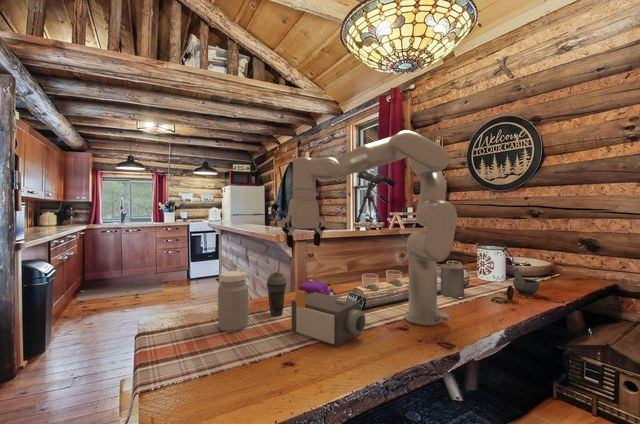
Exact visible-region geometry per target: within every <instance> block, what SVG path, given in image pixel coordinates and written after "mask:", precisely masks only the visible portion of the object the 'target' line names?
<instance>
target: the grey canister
mask: <svg viewBox="0 0 640 424" xmlns="http://www.w3.org/2000/svg"><path fill="white" fill-rule="evenodd" d="M464 274H465V266H463V265H462V264H457V263H456V264H455V263H453V262H452V263H442V264H441V265H440V296H441V295H443V296H445V297H444V298H446V297H452V298H459V297H463V296H464V297H465V276H464ZM443 296H442V297H443ZM464 297H463V298H464Z"/></svg>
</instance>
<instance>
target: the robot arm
mask: <svg viewBox="0 0 640 424" xmlns="http://www.w3.org/2000/svg"><path fill="white" fill-rule="evenodd" d="M405 158H408V159H410V160H409V165H410V168H411V170H412V172H413V173H414V175H416V176H417V177H418V181H419V183H420V193H419V196H418V202H417V207H416V213H415V220H416V222H417V223H418V224H419V225H420V226H422V227H424V228H426V230H415V231H414V232H412V233H411V234H410V235H408V237H407V241H406V252H407V259H408V260H407V261H408V311H406V312H405V313H404V314H403V316H404V319H405V321H407V322H408V323H412V324H413V325H418V326H426V327H427V326H429V327H430V326H431V327H432V326H437V325H440V324H441V323H442V320H443V321H447V322H449V321H450V320H451V317H450V315H449V313H447V312H442V311H441V310H440V307H439V306H438V267H437V263H439V262H442V261H445V260H446V259H447V258H448V257H449V256H450V254H451V251H452V247H453V243H454V239H455V232H456V229H457V223H458V213H457V210H456V207H455V206H454V205H453V204H452V203H451V202H449V201H447V200H445V199H446V194H447V193H446V192H447V183H446V182H447V181H446V179H445V176H444V175H443V173H442V171H443V170H445V168H447V166H448V164H449V162H450V156H449V153H448V151H447V150H446V148H445V147H443V146H442V145H440V144H439V143H437V142H435V141H433V140H431V139H429V138H427V137H424V136H423V135H422V134H420V133H417V132H415V131H412V130H409V129H408V130H406V129H404V130H401V131H399V132H398V133H395V134H394V135H392V136H389V137H386V138H382V139H379V140H376V141H371V142H369V143H366V144H362V145H360V146H358V147H356V148H354V149H352V150H351V151H349V152H347V153H344V154H342V155H339V156H336V157H331V156H323V157H308V156H303V157H302V156H299V157H296V158H295V159H294V160H293V163H292V177H293V178H292V198H291V199H290V200H289V205H288V211H287V212H288V213H287V216H286V217H285V218H283V219H280V220H279V221H278V224H279V227H280V229H281V230H282V231H283V233H285V235H286V245H287V247H288V248H290V249H291V248H294V235H293V234H294V231H295V230H312V231H313V232H314V234H313V245H314V246H316V247H320V245H321V235H322V233H323V232H324V231H325V230H326V226H327V225H328V220H326V219H324V218H322V217H321V216H320V209H319V208H320V207H319V203H318V199H316V198H317V197H319V196H320V195H319V194H320V193H319V192H318V191H317V189H316V184H317V183H316V180H317V181H319V182H322V183H327V182H331V181H333V180H336V179H337V180H338V179H340V178H344V177H346V176H350V175H352V174H356V173H361V172H364V171H368V170H371V169H374V168H377V167H381V166H384V165H387V164H390V163H394V162H397V161H399V160H403V159H405ZM286 223H287V227H286ZM320 223H321V224H320Z"/></svg>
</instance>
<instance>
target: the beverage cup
mask: <svg viewBox="0 0 640 424" xmlns="http://www.w3.org/2000/svg"><path fill="white" fill-rule="evenodd" d="M280 266H281V260H278V266H277V272H273V273H271V274H270V275H269V276H268V278H267V281H266V287H267V288H266V289H267V292H268V293H267V294H268V303H269V313H270V316H271V317H275V318H276V317H281V316H283V313H284V304H285V293H286V292H285V291H286V286H287V280H286V278H285V277H284V275H283V274H282V273H281V272H280Z"/></svg>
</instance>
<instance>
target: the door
mask: <svg viewBox="0 0 640 424" xmlns="http://www.w3.org/2000/svg"><path fill="white" fill-rule="evenodd" d="M295 292H296V293H295V295H296V297H295V299H296V332H298V333H301V334H304V335H307V336H310V337H313V338H316V339H319V340H322V341H325V342H328V343H331V344H334V343H335V315H331V314H327V313H324V312H320V311H316V310H312V309H308V308H305V291H301V290H299V289H297V290H295Z"/></svg>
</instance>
